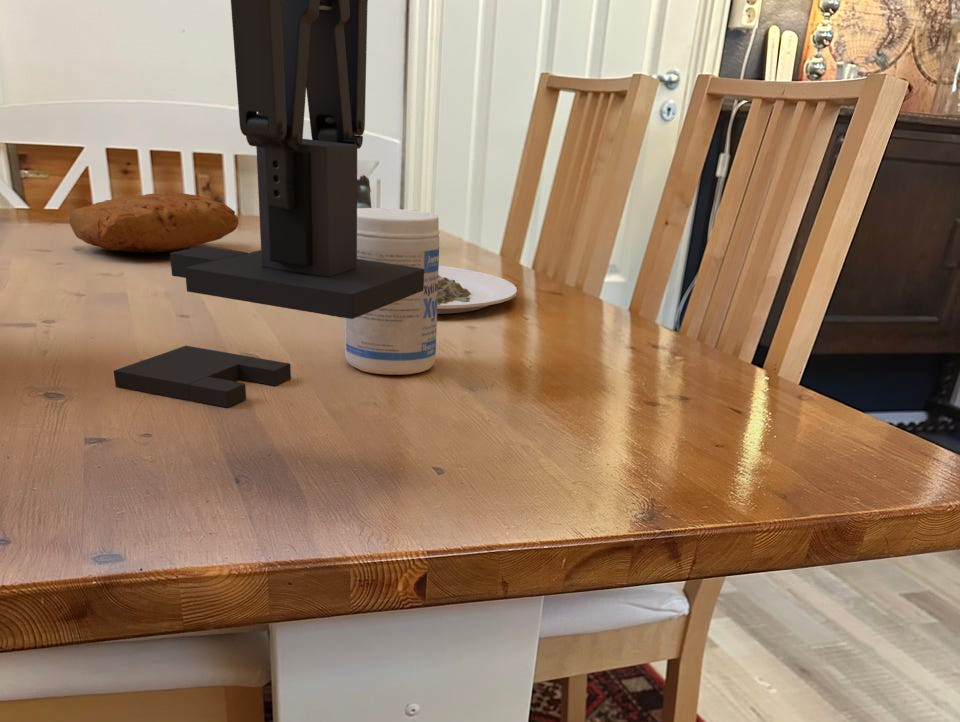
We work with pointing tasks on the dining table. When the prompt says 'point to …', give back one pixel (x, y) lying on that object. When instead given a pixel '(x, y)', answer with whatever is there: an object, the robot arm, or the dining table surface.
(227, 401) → the base pad
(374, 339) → the supplement tub
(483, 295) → the plated food
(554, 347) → the dining table surface
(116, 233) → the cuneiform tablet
